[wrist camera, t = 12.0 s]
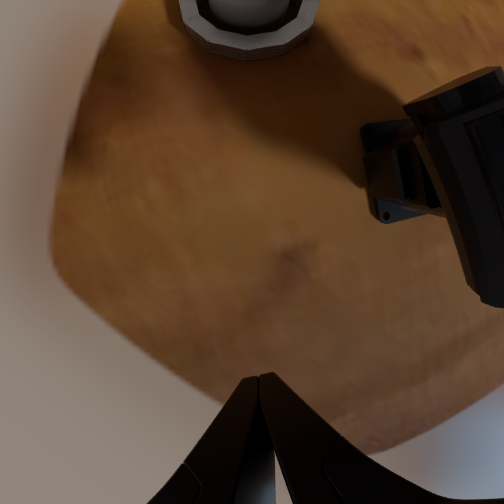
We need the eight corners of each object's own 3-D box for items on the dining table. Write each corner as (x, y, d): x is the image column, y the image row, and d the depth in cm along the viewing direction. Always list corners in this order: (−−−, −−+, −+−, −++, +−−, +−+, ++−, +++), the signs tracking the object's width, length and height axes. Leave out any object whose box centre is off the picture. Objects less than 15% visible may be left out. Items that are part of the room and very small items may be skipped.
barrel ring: (291, -37, 14) (295, -51, 13) (327, 50, 16) (334, 39, 15) (176, -19, 15) (171, -32, 13) (197, 72, 16) (193, 62, 15)
